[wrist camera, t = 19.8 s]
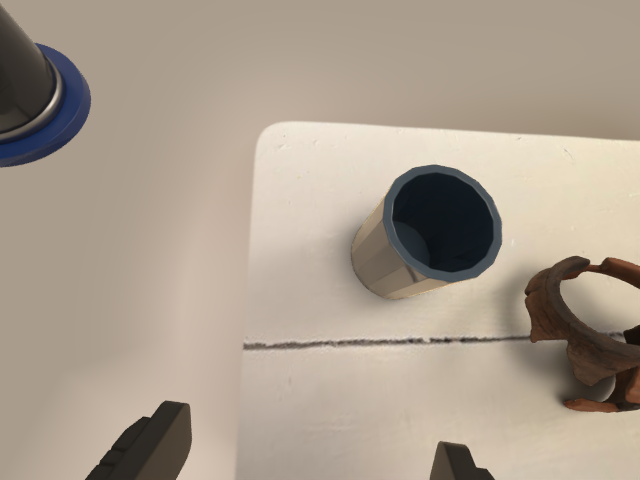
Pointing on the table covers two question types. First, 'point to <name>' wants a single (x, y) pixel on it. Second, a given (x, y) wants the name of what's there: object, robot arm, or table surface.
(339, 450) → the table surface
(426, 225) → the cup
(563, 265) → the brown broken clay pot
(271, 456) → the table surface
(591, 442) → the table surface
